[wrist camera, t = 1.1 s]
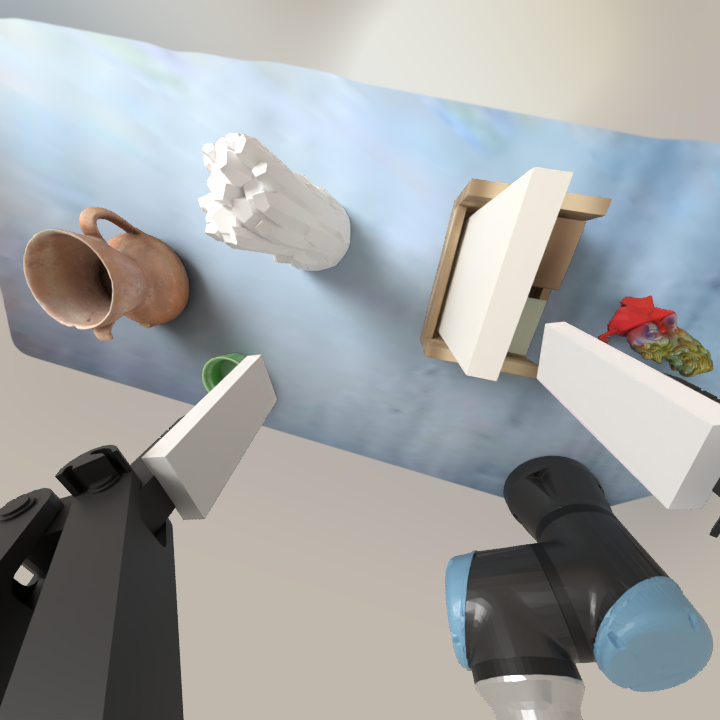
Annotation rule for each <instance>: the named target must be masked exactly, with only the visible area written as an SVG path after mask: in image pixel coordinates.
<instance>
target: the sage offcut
mask: <svg viewBox="0 0 720 720" xmlns="http://www.w3.org/2000/svg"><path fill="white" fill-rule="evenodd" d="M546 303H547V301H545V300H540V299H535V298H530V297H527V300H526V303H525V305H524V308H523V311H522V313H521V316H520V319H519V322H518V324H517V327H516V330H515V332H514V335H513V338H512V341H511V343H510V346H509V349H508V351H507V352H510V353H515V354H520V355H525V356H526V353H527V351H528V348H529V346H530V343H531V341H532V338H533V336H534V333H535V330H536V328H537V325H538V323H539V320H540V318H541V315H542V313H543V310H544V308H545V305H546Z"/></svg>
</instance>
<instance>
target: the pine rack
mask: <svg viewBox="0 0 720 720" xmlns="http://www.w3.org/2000/svg"><path fill="white" fill-rule="evenodd" d="M510 185H511V184H506V183H499V182H493V181H486V180H479V179H471V181H470V182H469V183H468V184H467V186H466V187H465V188H464V190H463V191H462V192H461V193H460V195H459V196H458V197H457V199H456V200H455V202H454V206H453V210H452V214H451V218H450V222H449V226H448V230H447V234H446V238H445V242H444V246H443V250H442V254H441V258H440V262H439V266H438V270H437V274H436V278H435V282H434V286H433V290H432V294H431V298H430V302H429V306H428V310H427V313H426V317H425V321H424V325H423V329H422V333H421V337H420V340H421V344H422V347H423V350H424V353H425V356H426V357H431V358H436V359H441V360H446V361H451V362H456V363H458V361H457V360H456V358H455V357H454V355H453V354H452V352H451V351H450V349H449V347H448V346H447V344H446V343H445V341H444V340H443V338H442V337H441V335H440V333H439V332H438V330H437V329H436V326H437V322H438V319H439V315H440V311H441V307H442V304H443V300H444V296H445V292H446V289H447V285H448V281H449V277H450V274H451V270H452V266H453V262H454V259H455V255H456V251H457V248H458V244H459V240H460V236H461V233H462V229H463V225H464V221H465V220H466V219H468V218H469V217H470V216H472V215H473V214H474V213H475V212H477V211H478V210H479V209H480V208H482V207H483V206H484V205H486V204H487V203H488V202H489V201H491V200H492V199H493V198H495V197H496V196H497V195H498V194H500V193H501V192H502V191H504V190H505V189H506V188H507V187H509V186H510ZM611 200H612V199H608V198H601V197H594V196H587V195H581V194H574V193H567V192H566V194H565V197H564V200H563V202H562V205H561V208H560V211H559V213H558V216H557V217H559V218H565V219H572V220H578V221H587V220H591V219H594V218H598V217H602V216H605V215H606V212H607V210H608V208H609V205H610V203H611ZM551 290H552V289H546V288H538V287H531V289H530V292H529V294H528V297H530V298H535V299H540V300H545V301H547V300H548V297H549V295H550V292H551ZM500 371H501V372H506V373H511V374H516V375H521V376H526V377H531V378H537V373H538V365H536V364H535V363H533V362H532V361H530V360H529V359H528V358H526V357H525V355H520V354H515V353H510V352H507V354H506V357H505V359H504V362H503V365H502V368H501V370H500Z"/></svg>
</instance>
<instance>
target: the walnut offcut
mask: <svg viewBox="0 0 720 720" xmlns="http://www.w3.org/2000/svg"><path fill="white" fill-rule="evenodd" d="M585 224H586V222H585V221H578V220H572V219H565V218H559V217H557V219H556V221H555V224H554V227H553V229H552V232H551V235H550V238H549V240H548V243H547V246H546V248H545V251H544V254H543V257H542V259H541V262H540V265H539V267H538V270H537V273H536V276H535V278H534V281H533V284H532V286H531V287H538V288H546V289H555V290H559V289H560V286H561V284H562V281H563V279H564V276H565V274H566V271H567V269H568V266H569V264H570V261H571V259H572V256H573V254H574V251H575V249H576V246H577V244H578V241H579V239H580V237H581V234H582V232H583V229H584V227H585Z"/></svg>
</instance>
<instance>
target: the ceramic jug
mask: <svg viewBox="0 0 720 720" xmlns="http://www.w3.org/2000/svg"><path fill="white" fill-rule="evenodd" d="M97 219H106V220H109V221H110V222H112V223H114V224H115V225H117V226H119V227H120V228H122V229H123V230H124V231H126V232H127V233H123V234H120V235H117V236H115V237H114V238H112V239H111V240H110V241H108V242H106V241H105V240H104V239H103V237H102V236H101V234H100V233H99V231H98V228H97V224H96V221H97ZM79 224H80V228H81V230H82V232H83V233H84V235H85V236H84V235H81V234H77V233H74V232H70V231H65V230H59V229H48V230H43V231H41V232H38V233H37V234H35V235H34V236H33V237H32V239H31V240H30V241H29V242H28V244H27V246H26V249H25V254H24V258H23V264H24V274H25V277H26V280H27V284H28V286H29V288H30V290H31V291H32V294H33V296H34V297H35V299H36V300H37V302H38V303H39V304H40V305H41V307H42V308H43V309H44V310H45V311H46V312H47V313H48V314H49V315H50V316H51V317H52V318H54V319H55V320H57V321H58V322H60V323H62V324H64V325H66V326H69V327H77V329H83V330H86V329H94V333H95V335H96V337H97V338H98V339H99V340H102V341H110V340H112V339H113V336H112V334H111V329H112V327H113V325H114V323H115V321H116V320H118V319H119V318H121V317H122V316H123V315H125V316H126V317H128V318H130V319H132V320H134V321H136V322H139V323H140V325H142V326H144V327H146V328H150V327H152V326H155V325H159V324H164V323H167V322H169V321H171V320H173V319H175V318H176V317H177V316H178V315H179V314H180V313H181V312H182V311H183V310H184V308H185V306H186V304H187V301H188V298H189V281H188V276H187V273H186V270H185V268H184V266H183V264H182V262H181V260H180V259H179V257H178V256H177V255H176V253H175V252H174V251H173V250H172V249H171V248H170V247H169V246H168V245H166V244H165V243H164V242H162V241H161V240H159V239H157V238H155V237H153V236H150V235H148V234H146V233H144V232H142V231H141V230H139V229H137V228H135V227H133V226H132V225H131V224H129V223H128V222H127V221H125V220H124V219H123V218H122V217H120V216H119V215H117V214H115V213H114V212H112V211H109V210H107V209H104V208H99V207H90V208H87V209H85V210H83V211H82V213H81V214H80V216H79Z"/></svg>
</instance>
